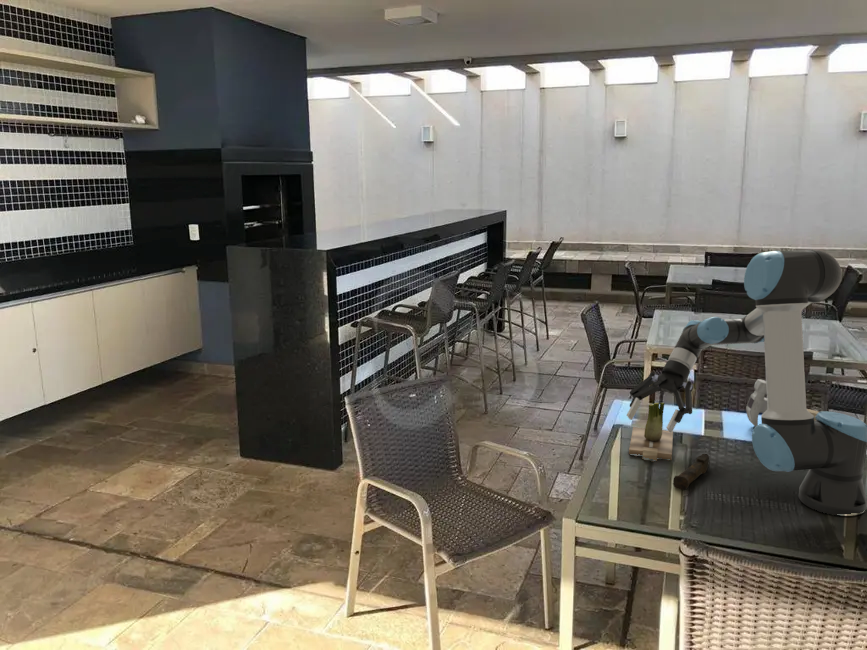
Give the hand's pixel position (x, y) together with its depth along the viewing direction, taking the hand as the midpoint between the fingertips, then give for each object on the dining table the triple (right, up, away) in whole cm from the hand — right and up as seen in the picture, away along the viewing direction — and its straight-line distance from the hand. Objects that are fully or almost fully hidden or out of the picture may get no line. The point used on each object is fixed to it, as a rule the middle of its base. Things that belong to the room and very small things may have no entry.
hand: (648, 423), depth 210 cm
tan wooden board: (+2, -7, +3) cm, 8 cm away
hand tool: (+7, -13, -17) cm, 22 cm away
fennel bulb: (+2, -5, +3) cm, 6 cm away
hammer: (+51, -4, +15) cm, 54 cm away
